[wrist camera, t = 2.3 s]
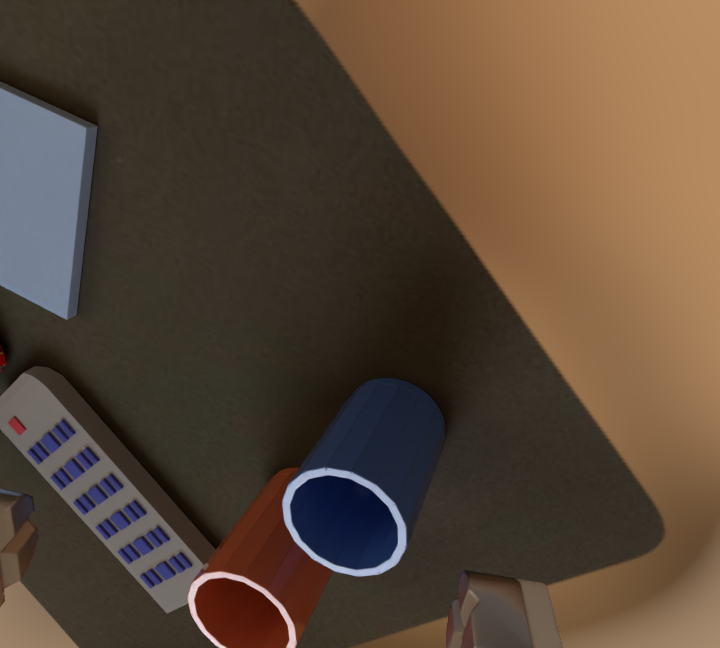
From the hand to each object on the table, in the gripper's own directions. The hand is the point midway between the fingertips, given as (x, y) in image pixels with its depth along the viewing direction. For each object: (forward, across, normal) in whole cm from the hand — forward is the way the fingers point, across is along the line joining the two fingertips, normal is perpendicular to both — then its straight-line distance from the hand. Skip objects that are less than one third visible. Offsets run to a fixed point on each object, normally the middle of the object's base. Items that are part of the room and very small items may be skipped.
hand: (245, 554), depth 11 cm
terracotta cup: (+25, 0, +22) cm, 33 cm away
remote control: (+29, +16, +27) cm, 43 cm away
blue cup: (+24, -4, +13) cm, 27 cm away
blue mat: (+31, +24, +4) cm, 39 cm away
